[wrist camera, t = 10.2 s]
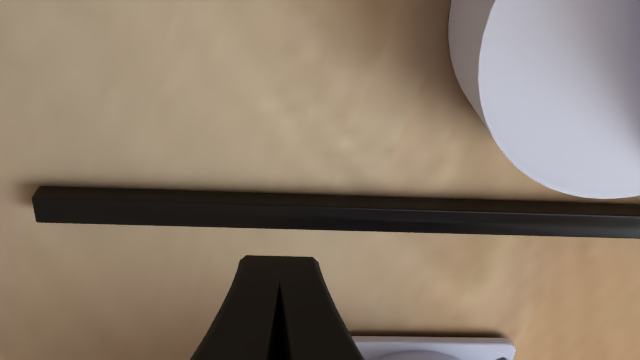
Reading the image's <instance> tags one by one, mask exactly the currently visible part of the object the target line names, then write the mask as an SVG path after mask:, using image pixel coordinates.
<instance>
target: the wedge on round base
mask: <svg viewBox="0 0 640 360" xmlns="http://www.w3.org/2000/svg"><path fill="white" fill-rule="evenodd" d="M448 42H449V49H450V57H451V62H452V65H453V69H454V72H455V75H456V78H457V80H458V82H459V84H460V87H461V89H462V91H463V93H464V94H465V96H466V97H467V99H468V100H469V102H470V104H471V105H472V107H473V108H474V110H475V111H476V113H477V114H478V116H479V117H480V119H481V120H482V122H483V123H484V125H485V126H486V128H487V130H488V131H489V133H490V134H491V136H492V137H493V139H494V140H495V142H496V143H497V145H498V146H499V148H500V149H501V150H502V152H503V153H504V155H505V156H506V157H507V158H508V159H509V160H510V161H511V162H512V163H513V164H514V165H515V166H516V167H517V168H518V169H519V170H520V171H522V172H523V173H524V174H526V175H527V176H528V177H530V178H531V179H533V180H535V181H536V182H538V183H540V184H542V185H544V186H546V187H548V188H551V189H553V190H556V191H559V192H562V193H565V194H569V195H574V196H579V197H584V198H598V199H613V198H627V197H634V196H640V0H452V1H451V7H450V14H449V24H448Z"/></svg>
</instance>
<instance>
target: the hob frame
mask: <svg viewBox="0 0 640 360" xmlns="http://www.w3.org/2000/svg"><path fill="white" fill-rule="evenodd" d="M32 203H33V208H34V213H35V218H36V222H42V223H79V224H116V225H154V226H191V227H228V228H266V229H303V230H340V231H378V232H415V233H452V234H490V235H527V236H564V237H602V238H639V239H640V205H629V204H597V203H565V202H533V201H501V200H469V199H437V198H405V197H373V196H341V195H309V194H277V193H245V192H213V191H181V190H149V189H117V188H85V187H53V186H40V187H39V188H38V189H37V191H36V192H35V194H34V195H33V197H32Z"/></svg>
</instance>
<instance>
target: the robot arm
mask: <svg viewBox="0 0 640 360" xmlns="http://www.w3.org/2000/svg"><path fill="white" fill-rule="evenodd" d="M514 355H515V347H514V345H513V343H512V341H511V340H509V339H507V338H469V337H395V336H351V335H350V333H349V331H348V330H347V328H346V326H345V324H344V322H343V320H342V319H341V317H340V315H339V313H338V311H337V309H336V306H335V304H334V302H333V300H332V298H331V296H330V293H329V291H328V289H327V286H326V284H325V281H324V279H323V276H322V273H321V270H320V267H319V263H318V262H317V261H316V260H315V259H314V258H313V257H292V256H251V255H246V256H245V257H244V258H242V259H241V260H240V262H239V266H238V269H237V272H236V275H235V278H234V280H233V283H232V285H231V287H230V289H229V292H228V294H227V296H226V298H225V300H224V302H223V304H222V306H221V308H220V310H219V312H218V313H217V315H216V317H215V319H214V321H213V323H212V324H211V326H210V328H209V330H208V332H207V334H206V335H205V337H204V339H203V340H202V342H201V343H200V345H199V347H198V348H197V350H196V351H195V353H194V354H193V356H192V357H191V359H190V360H513V358H514ZM501 357H502V358H501ZM498 358H500V359H498Z"/></svg>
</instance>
